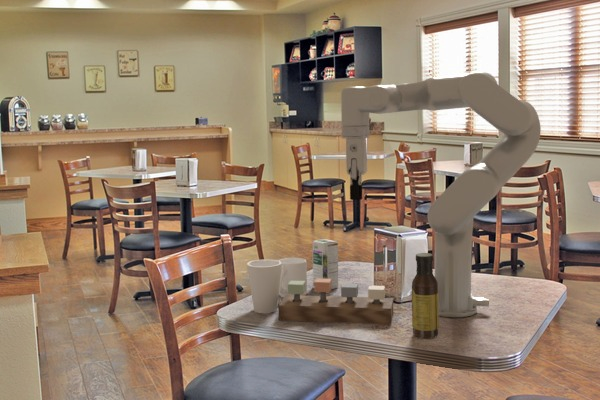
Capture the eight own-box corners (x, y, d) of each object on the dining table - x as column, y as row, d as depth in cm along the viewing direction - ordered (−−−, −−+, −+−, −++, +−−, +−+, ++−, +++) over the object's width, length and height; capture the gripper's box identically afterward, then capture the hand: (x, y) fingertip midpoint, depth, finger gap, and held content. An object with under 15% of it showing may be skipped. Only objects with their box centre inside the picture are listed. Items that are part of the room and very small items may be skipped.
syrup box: (312, 288, 226) (311, 240, 224) (326, 284, 230) (325, 238, 228) (325, 291, 221) (324, 243, 219) (339, 287, 225) (338, 240, 223)
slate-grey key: (358, 308, 197) (358, 283, 196) (356, 312, 193) (356, 287, 192) (343, 307, 197) (342, 283, 197) (341, 311, 194) (341, 287, 193)
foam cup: (244, 314, 200) (243, 266, 198) (251, 304, 209) (250, 259, 207) (280, 315, 198) (278, 267, 196) (285, 305, 207) (284, 259, 206)
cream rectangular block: (385, 310, 196) (384, 285, 195) (384, 314, 192) (383, 289, 191) (369, 309, 196) (369, 285, 195) (368, 314, 192) (368, 289, 192)
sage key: (305, 305, 199) (305, 280, 198) (303, 309, 195) (302, 284, 194) (291, 304, 200) (290, 280, 199) (288, 308, 196) (287, 284, 195)
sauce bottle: (423, 329, 184) (423, 250, 181) (443, 335, 179) (444, 253, 176) (406, 335, 179) (406, 254, 177) (427, 341, 175) (427, 258, 172)
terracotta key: (331, 303, 198) (331, 278, 197) (329, 307, 194) (329, 282, 193) (316, 302, 199) (316, 278, 198) (314, 306, 195) (314, 282, 194)
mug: (291, 303, 209) (290, 267, 208) (266, 300, 213) (265, 264, 212) (312, 293, 219) (311, 259, 218) (287, 290, 224) (287, 256, 222)
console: (393, 312, 198) (393, 298, 198) (391, 324, 189) (391, 308, 188) (286, 309, 203) (285, 295, 203) (278, 320, 194) (278, 305, 193)
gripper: (367, 133, 195) (367, 203, 197) (371, 131, 209) (372, 195, 212) (338, 134, 196) (339, 203, 198) (344, 131, 210) (345, 195, 213)
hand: (356, 199), depth 205 cm, fingers closed
